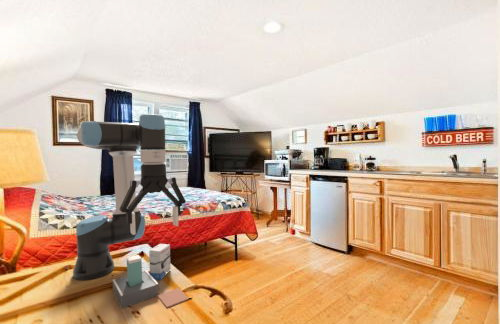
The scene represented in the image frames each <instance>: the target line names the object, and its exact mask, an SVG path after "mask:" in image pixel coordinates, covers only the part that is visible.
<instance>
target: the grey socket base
mask: <svg viewBox="0 0 500 324" xmlns="http://www.w3.org/2000/svg"><path fill="white" fill-rule="evenodd" d="M112 292H113V294H114V296H115V298H116V300H117V302H118V303H119V305H120V308H121V309H123V308H124V309H125V308H127V307H129V306H132V305H135V304H138V303H141V302H144V301H146V300H149V299H152V298H154V297H155V298H156V297H158V295H159V282H157V280H155V279H154V278H153V277H152V276H151V275H150V272H149V271H148V270H147V269H144V271H143V270H142V284H139V285H135V286H132V287H128V280H127V275H126V276H123V277H120V278H116V279H114V278H113V279H112Z"/></svg>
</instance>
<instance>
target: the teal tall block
mask: <svg viewBox="0 0 500 324" xmlns="http://www.w3.org/2000/svg"><path fill="white" fill-rule="evenodd" d="M142 266H143V265H142V257H141V256H140V255H139V254H136V255H132V256H127V257H126V272H127V273H126V276H127V280H128V287H132V286H135V285H139V284H142V272H143V267H142Z"/></svg>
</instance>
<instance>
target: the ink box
mask: <svg viewBox="0 0 500 324" xmlns="http://www.w3.org/2000/svg"><path fill="white" fill-rule="evenodd" d="M148 254H149V257H148V258H149V260H148V261H149V274H150V275H151V276H152V277H153V278H154V279H155V280H156V281H162V279H163V278H165V277H166V276H165V274H166V272H168V271H169V270H170V269H171V244H169V243H168V244H166V243H159V244H157V245H155V246H153V247H152V248H151V249H149V252H148ZM171 270H172V269H171Z"/></svg>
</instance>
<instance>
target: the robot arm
mask: <svg viewBox="0 0 500 324" xmlns="http://www.w3.org/2000/svg"><path fill="white" fill-rule="evenodd" d="M76 136H77V140H78V142H79V143H80V144H81V145H83V147H86V148H90V149H95V150H108V154H109V155H110V156H111V157H112V161H113V163H112V164H113V165H112V166H113V179H114V198H115V210H114V211H113V212H112V216H111V217H109V216H108V215H107V214H106V215H105V214H101V215H94V216H91V217H87V218H85V219H82V220H80V221H79V222H78V223H77V224H76V230H75V231H76V232H75V236H76V249H77V250H76V252H77V254H76V255H77V257H76V260H75V265H74V267H73V270H72V275H73V279H75V280H77V281H79V280H80V281H85V280H87V281H88V280H93V279H98V278H101V277H104V276H106V275H108V274H110V273H111V272H113V270H114V269H115V262H114V260H113V257H112V255H111V253H110V247H109V246H111V245H115V244H121V243H125V242H132V241H134V240H139V239H142V237H143V235H144V233H145V230H146V229H145V228H146V219H145V214H144V213H142V212H141V209H140V208H139V207H138V205H139V204H140V203H141V202H142V200H143V198H145V196H147V195H148V194H154V193H161V192H162V193H163V194H164V195H165V196H166V197H167V198H168V199H169V200H170V201H171V202H172V203H173V204H174V205H172V225H173V226H175V227H179V216H180V215H181V214H182V213H181V206H182V205H183V204H186V202H187V201H186V199H185V197H184V195H183V194H182V191H181V190H180V188H179V186H178V184H177V178H176V177H174V176H170V177H167V165H166V161H167V160H166V159H167V157H166V155H167V154H166V123H165V117H164V115H161V114H155V113H146V114H145V113H142V114H141V115H140V116H139V120H138V123H135V122H133V123H132V122H130V123H129V122H113V121H112V122H111V121H110V122H109V121H96V120H90V121H89V120H88V121H87V120H86V121H82V122H81V124H80V128H78V131H77V134H76ZM139 149H140V151H139V152H140V163H141V165H140V177H141V178H140V180H136V179H135V177H136V176H135V163H134V162H135V161H134V156H135V155H136V154H137V150H139ZM167 183H168V184H170V186H171V188H172V190H173V192H174V194H175V196H174V195H173V193H172V192H171V191H170V190H169V189H168V188H167ZM139 186H141V187H142V188H141V189H140V190H139V193H138V194H137V195H136V191H137V188H138V187H139Z"/></svg>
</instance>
